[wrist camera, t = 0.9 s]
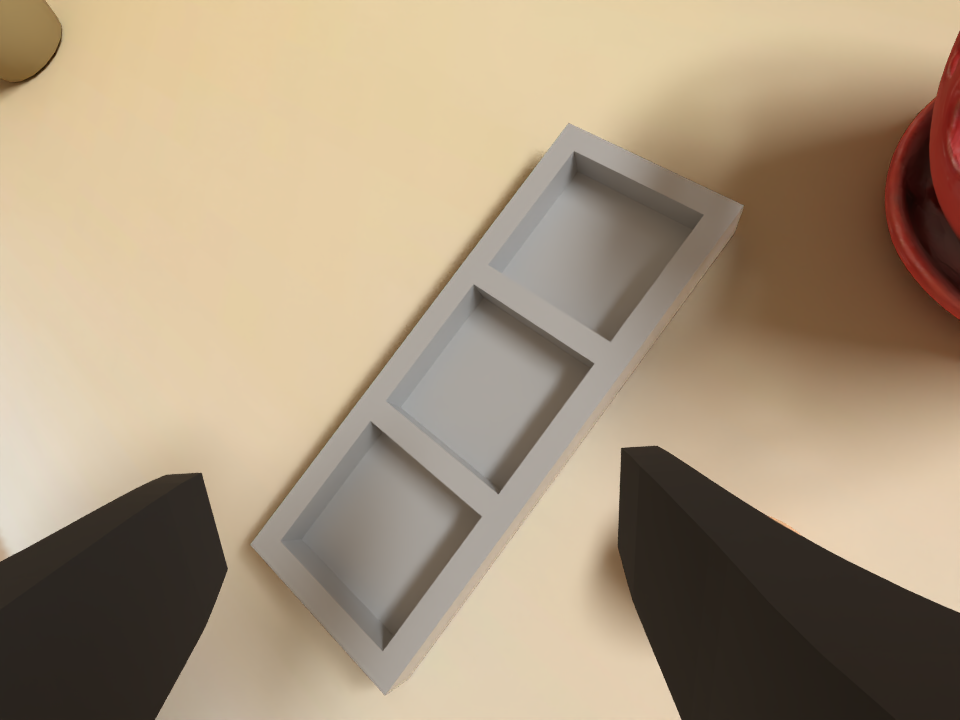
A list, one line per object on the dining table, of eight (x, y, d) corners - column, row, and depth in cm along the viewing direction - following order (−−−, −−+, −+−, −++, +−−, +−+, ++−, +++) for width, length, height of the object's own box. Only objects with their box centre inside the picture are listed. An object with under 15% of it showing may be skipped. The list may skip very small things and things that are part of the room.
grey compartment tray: (735, 232, 22) (744, 205, 20) (408, 678, 21) (385, 695, 19) (574, 152, 25) (568, 123, 23) (281, 541, 24) (250, 544, 22)
